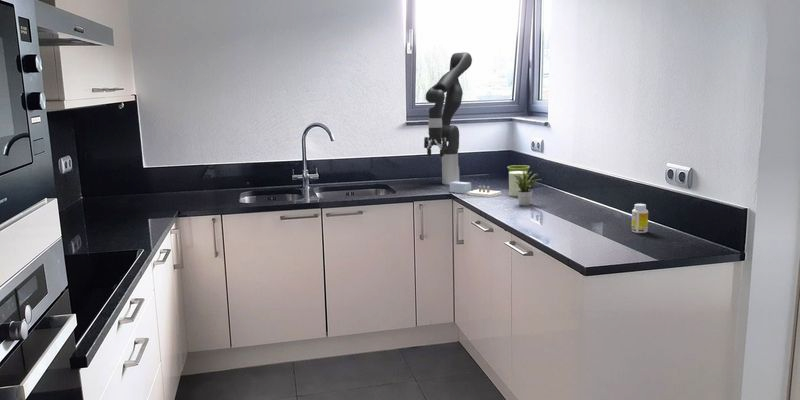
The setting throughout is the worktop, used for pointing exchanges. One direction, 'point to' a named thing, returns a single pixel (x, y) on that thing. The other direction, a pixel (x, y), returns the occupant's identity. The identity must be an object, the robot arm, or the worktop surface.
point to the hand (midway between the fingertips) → (435, 156)
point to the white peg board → (484, 192)
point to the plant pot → (518, 168)
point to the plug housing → (460, 187)
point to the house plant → (524, 188)
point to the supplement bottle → (640, 218)
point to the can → (512, 179)
